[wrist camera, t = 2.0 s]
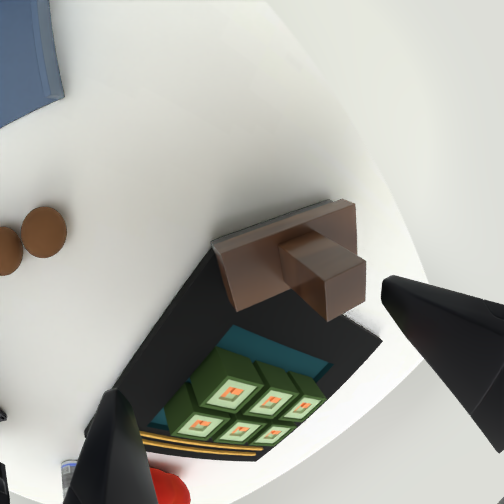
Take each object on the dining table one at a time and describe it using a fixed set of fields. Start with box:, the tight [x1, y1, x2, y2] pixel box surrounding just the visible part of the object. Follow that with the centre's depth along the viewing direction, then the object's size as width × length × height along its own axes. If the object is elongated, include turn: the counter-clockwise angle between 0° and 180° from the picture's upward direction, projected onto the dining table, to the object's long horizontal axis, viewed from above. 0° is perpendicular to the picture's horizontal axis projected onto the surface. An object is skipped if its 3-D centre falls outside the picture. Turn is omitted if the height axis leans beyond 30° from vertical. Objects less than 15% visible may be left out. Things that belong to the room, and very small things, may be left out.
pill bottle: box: [61, 461, 77, 499], centre depth 24 cm, size 5×5×8 cm
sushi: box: [84, 247, 383, 461], centre depth 28 cm, size 25×25×4 cm
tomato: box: [149, 467, 191, 504], centre depth 29 cm, size 11×11×8 cm
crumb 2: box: [21, 207, 67, 258], centre depth 15 cm, size 3×3×3 cm
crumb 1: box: [0, 227, 23, 276], centre depth 14 cm, size 3×3×3 cm
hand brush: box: [211, 199, 366, 322], centre depth 20 cm, size 4×10×8 cm, turn 101°
